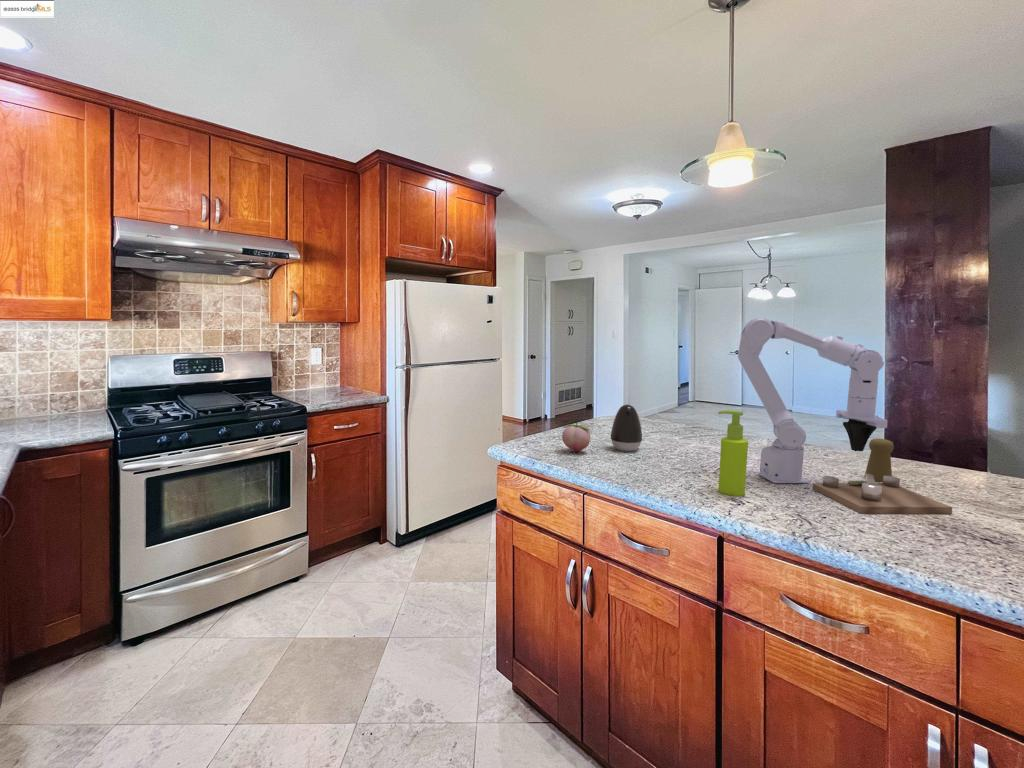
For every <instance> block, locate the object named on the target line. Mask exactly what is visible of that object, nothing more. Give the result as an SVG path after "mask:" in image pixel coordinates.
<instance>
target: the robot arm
mask: <svg viewBox="0 0 1024 768" xmlns="http://www.w3.org/2000/svg"><path fill="white" fill-rule="evenodd" d="M770 339H772V340H773V339H774V340H775V339H777V340H778V339H785V340H789V341H791V342H795V343H797V344H800V345H803V346H806V347H809V348H811V349H815V350H816V351H817V353H818V356H819V357H821V358H823V359H826V360H828V361H831V362H834V363H836V364H839V365H841V366H844V367H849V369H850V377H849V382H848V395H847V406H846V410H845V409H836V411H835V418H839V419H844V420H847V421H843V422H842V425H843V427H844V429H845V431H846V433H847V436H848V439H849V444H850V450H851V451H854V452H864V450H865V447H866V446H867V443H868V440H869V438H871V435H873V433H874V432H875V431H876V430H877V429H888V419H884V418H881V417H879V415H877V414H876V407H877V397H878V388H879V387H878V386H879V385H878V384H879V371H881V369H882V368H883V367H884V365H885V361H884V359H883V357H882V355H881V354H880V353H879V352H878V351H876V350H874V349H867V348H865V347H864V345H863V344H860V343H858V344H855V343H852V342H850V341H847V340H844V337H843V336H841V335H836V336H834V335H830V336H826V337H821V336H819V335H815V334H813V333H811V332H808V331H806V330H804V329H802V328H799V327H796V326H793V325H792V324H788V323H785V322H782V321H777V320H773V319H772V320H770V319H768V318H766V317H756V318H753V319H751V320H749V321H748V322H747V323H745V326H744V327H743V329H742V331H741V333H740V340H739V344H738V345H739V346H738V352H737V358H738V361H739V362H740V364H741V366H742V369H743V370H744V373H746V375H747V377H748V379H749V381H750V382H751V384H752V387H753V388H754V390H755V392H756V394H757V396H758V397H759V400H760V402H761V403H762V405H763V407H764V409H765V411H766V413H767V415H768V416H769V418H770V419H769V420H771V422H772V424H773V434H774V436H775V437H776V439H775V440H774V441H772V445H769V446H765V447H763V448H762V450H761V452H760V461H759V462H760V465H759V472H758V473H757V474H758V476H761V477H762V478H765V479H766V480H768V481H770V482H771V483H773V484H810V480H807V479H805V478H803V477H802V476H803V467H804V465H803V464H804V455H805V454H804V452H805V451H804V450H805V446H804V444H805V443H806V439H807V434H806V431H805V430H804V429H803V428H802V427H801V426H799V424H798V423H797V422H796V420H794V418H793V417H792V415H791V413H790V412H789V410H788V409H787V407H786V404H785V403H784V401H783V400H782V397H781V396H780V394H779V392H778V390H777V387H775V384H774V383H773V381H772V379H771V376H770V375H769V373H768V372H767V370H766V368H765V366H764V364H763V362H762V360H761V358H760V354H761V352H762V350H763V347H764V346H765V345H766V343H768V341H769V340H770Z"/></svg>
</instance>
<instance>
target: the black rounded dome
mask: <svg viewBox="0 0 1024 768" xmlns="http://www.w3.org/2000/svg"><path fill="white" fill-rule="evenodd" d="M610 439H611V442H612V445H613V447H614V448H615V449H616V450H618V451H620V452H634V451H636V450H637V449H639V448H640V446H641V443H642V441H643V431H642V425H641V421H640V417H639V414H638V412H637V410H636V408H635V407H634V406H633V405H631V404H622V405H621V406H620V407H619V408H618V411H617V412H616V414H615V416H614V419H613V422H612V427H611V431H610Z"/></svg>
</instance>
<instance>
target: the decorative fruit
mask: <svg viewBox="0 0 1024 768" xmlns="http://www.w3.org/2000/svg"><path fill="white" fill-rule="evenodd" d="M590 431H591V429H590V428H589V427H588V426H587V425H584V424H578V421H576V422H575V424H573V423H571V424H566V425H565V426H563V431H562V435H561V440H562V442H563V444H564V445H565V446H566V447H567V448H568V449H570V450H572V451H573V452H575V453H578V452H581V451H582V450H584V449H585V448H587V447H588V446H589V445H590V442H591V433H590Z"/></svg>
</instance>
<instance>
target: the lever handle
mask: <svg viewBox="0 0 1024 768" xmlns="http://www.w3.org/2000/svg"><path fill="white" fill-rule="evenodd" d="M864 476H865V475H864ZM864 481H865V483H862V491H861V497H862V498H864V499H868V500H873V501H880V500H881V494H882V486H881V485H878V484H875V483H876V482H875V480H874V477H873V474H866V476H865V478H864Z"/></svg>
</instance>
